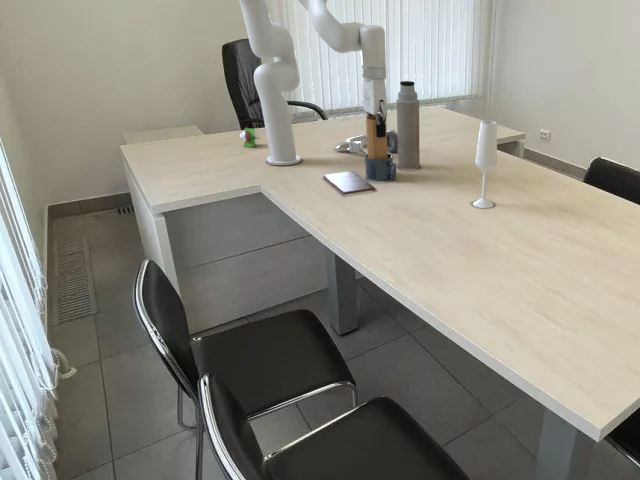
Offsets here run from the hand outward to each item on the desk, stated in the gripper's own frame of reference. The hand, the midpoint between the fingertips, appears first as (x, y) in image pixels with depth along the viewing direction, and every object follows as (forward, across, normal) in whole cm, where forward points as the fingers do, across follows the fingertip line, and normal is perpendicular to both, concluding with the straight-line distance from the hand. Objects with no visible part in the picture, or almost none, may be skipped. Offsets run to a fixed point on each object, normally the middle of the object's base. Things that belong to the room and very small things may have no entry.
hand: (376, 133), depth 179 cm
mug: (+14, +2, +1) cm, 15 cm away
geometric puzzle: (+16, -60, -30) cm, 69 cm away
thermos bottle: (+15, -8, +16) cm, 23 cm away
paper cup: (+8, 0, 0) cm, 8 cm away
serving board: (+15, +2, -12) cm, 19 cm away
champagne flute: (+14, +38, +20) cm, 45 cm away
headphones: (+15, -34, +12) cm, 39 cm away
